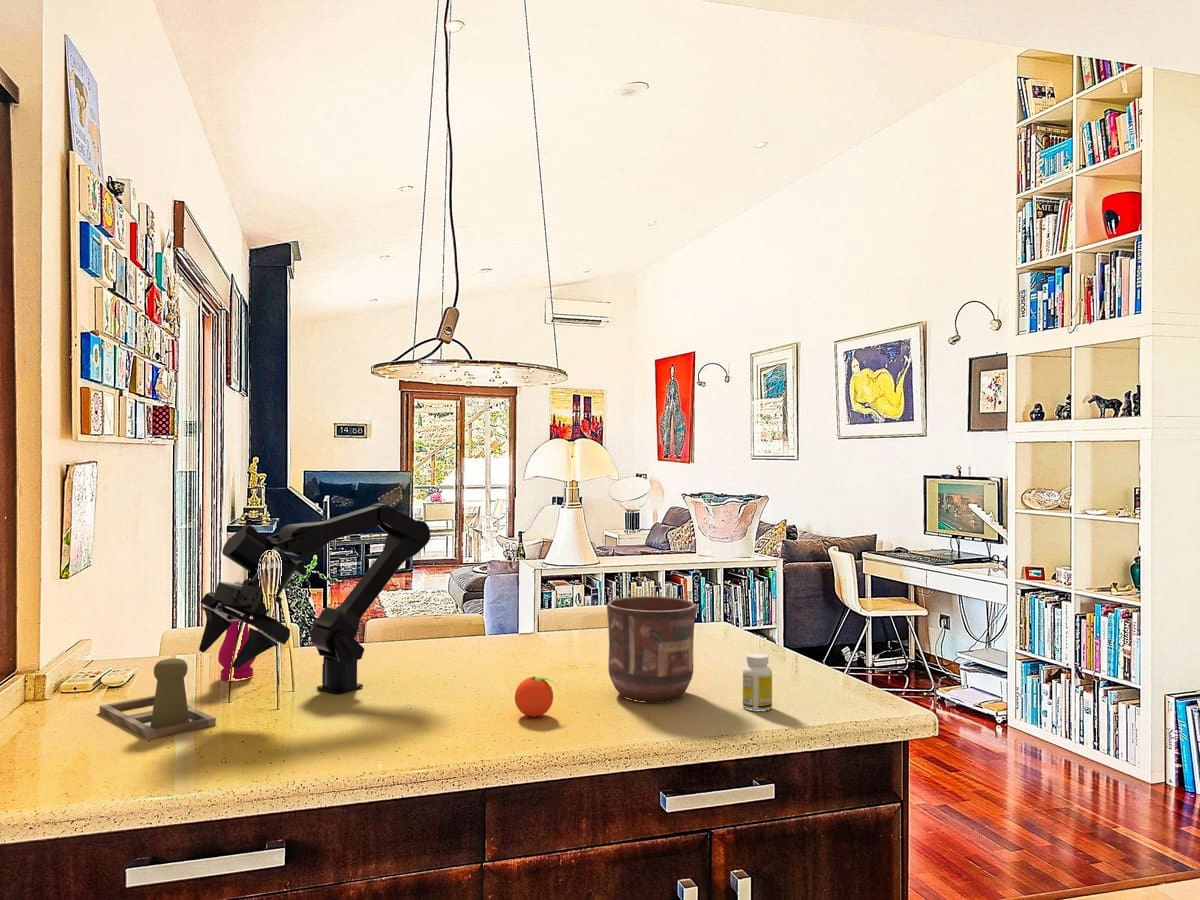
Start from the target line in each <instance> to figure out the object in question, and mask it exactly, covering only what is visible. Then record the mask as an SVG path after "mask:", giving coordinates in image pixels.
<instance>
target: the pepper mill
mask: <svg viewBox="0 0 1200 900" xmlns="http://www.w3.org/2000/svg"><path fill="white" fill-rule="evenodd" d="M233 583H234V584H238V585H241V584H242V583H243V582H242V581H240V580H236V581H235V582H233ZM240 616H241V615H240ZM250 619H252V617H251V616H250ZM226 620H227V621H229V622H230V623H232V624H231V625H230V626H229V627H228V628H227V630H226V631H225V637H224V639H223V642H222V644H221V646H220V648H219V651H218V655H217V656H218V658H217V661H218V664H220V665H221V667H222V669H221V670H220V681H223V682H229V681H228V680H229V674H230V669H231V662H232V656H233V651H234V647H235V644H236V640H237V634H238V625H239V622H240V620H239V619H237V618H233V619H231V620H228V619H226ZM248 636H249V624H248V623H246V624H245V627H244V630H243V635H242V640H241V646H240V649H239V650H238V653H237V656H238V654H239V653H240V651H241V649H242V648H243V646H244V645H245V643H246V641H247V640H248ZM256 658H257V656H256V657H254V658H253V659H251V660H250V661H248V662H247V663H245V664H244V665H242V666H241V667H239V668H238V669H235V668H234V675H233V678H235V679H242V678H248V677H251V676H253V677H254V668H253V667H252V664H254V662H255V661H256Z"/></svg>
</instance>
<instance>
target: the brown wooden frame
mask: <svg viewBox="0 0 1200 900" xmlns="http://www.w3.org/2000/svg"><path fill="white" fill-rule="evenodd" d="M154 699H155V695H149V696H145V697H141V698H135V699H129V700H124V701H118V702H114V703H108V704H102V705H99V709H98V710H99V714H101V715H103V716H105V717H106V718H109V719H111V720H112V721H114V722H116V723H117V724H120V725H121V726H123V727H125V728H127V729H129V731H132V732H134V733H136V734H137V735H139V736H141V737H143V738H145V739H146V740H154V739H159V738H164V737H169V736H172V735H177V734H181V733H182V734H183V733H187V732H190V731H195V730H200V729H204V728H205V729H206V728H209V727H214V726H216V722H217V721H216V720H217V718H216V717H214V716H212V715H210V714H208V713H205V712H204V711H201V710H199V709H197V708H194V707H193V706H190V705H188V704H187V706H188V714H189V721H190V722H185V723H181V724H176V725H171V726H167V727H162V728H157V729H153V728H151V726H150V725H151V719H152V712H153V710H149V711H144V712H138V713H135V714H126V713H124V712H122V711H125V710H129V709H134V708H140V707H145V706H150V705H154Z"/></svg>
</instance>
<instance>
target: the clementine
mask: <svg viewBox="0 0 1200 900" xmlns="http://www.w3.org/2000/svg"><path fill="white" fill-rule="evenodd" d="M548 681H549V682H552V683H553V684H554V685H555V686H556V687H557V689H558V691H560V689H559V688H558V684H557V683H555V681H553V680H551V679H549V678H546V677H543V676H540V677H539V676H531V677H527V678H525V679H523V680H522V681H521V682H520V683H519V684H518V686H517V687H516V689H515V691H514V692H515V693H514V702H515V706H516V707H517V709H518V710H519V712H520V713H521V714H523V716H526V717H529V716H531V717H530V718H537V717H536V716H538V717H541V716H543V715H545V714H546V713H547V712H548V711H549V710H550V708H551V707H552V705H553V703H554V702H553V701H554V692H553V689H552V686H551V685H550V684H549V682H548Z"/></svg>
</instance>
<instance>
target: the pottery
mask: <svg viewBox="0 0 1200 900" xmlns="http://www.w3.org/2000/svg"><path fill="white" fill-rule="evenodd" d="M606 614H607V629H608V630H607V631H608V662H607V663H608V664H607V665H608V674H609V677H610V681H611V682H612V685H613V686H614V689H615V690H616V692H617V693H618V694H620V695H621V697H622V696H624V697H626V698H629V699H632V700H637V701H645V702H666V703H668V702H667V701H671V702H673V701H672V700H675V701H677V700H679V699H680V697H682V696H683V694H684V693H685V692H686V691H687V690H688V687H689V686H690V683H691V681H692V678H693V674H694V634H695V623H696V616H697V615H696V614H697V604H695V603H694V602H693V601H690V600H688V599H684V598H678V597H677V598H676V597H669V596H646V595H645V596H644V595H643V596H628V597H627V596H626V597H621V598H617V599H612V600H610V601H609V602H607V603H606ZM624 697H623V698H624ZM626 698H625V699H626ZM678 698H679V699H678ZM676 699H677V700H676Z"/></svg>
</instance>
